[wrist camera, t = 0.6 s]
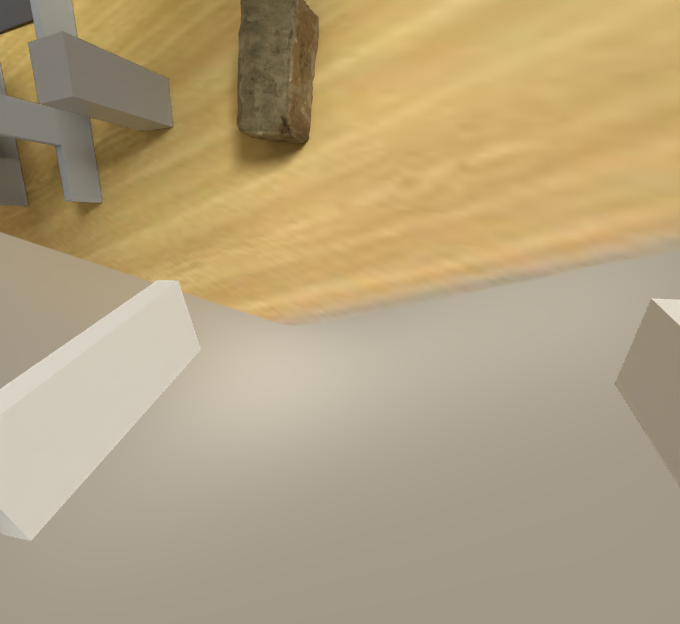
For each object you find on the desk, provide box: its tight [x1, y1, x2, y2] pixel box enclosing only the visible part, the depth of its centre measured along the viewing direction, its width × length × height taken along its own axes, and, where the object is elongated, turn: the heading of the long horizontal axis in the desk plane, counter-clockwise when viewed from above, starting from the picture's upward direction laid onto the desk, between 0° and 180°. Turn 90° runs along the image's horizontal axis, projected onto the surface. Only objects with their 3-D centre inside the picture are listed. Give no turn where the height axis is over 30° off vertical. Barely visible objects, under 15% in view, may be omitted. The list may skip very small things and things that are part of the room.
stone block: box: [237, 0, 318, 144], centre depth 33 cm, size 6×12×5 cm, turn 174°
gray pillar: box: [28, 31, 173, 131], centre depth 37 cm, size 5×5×11 cm
